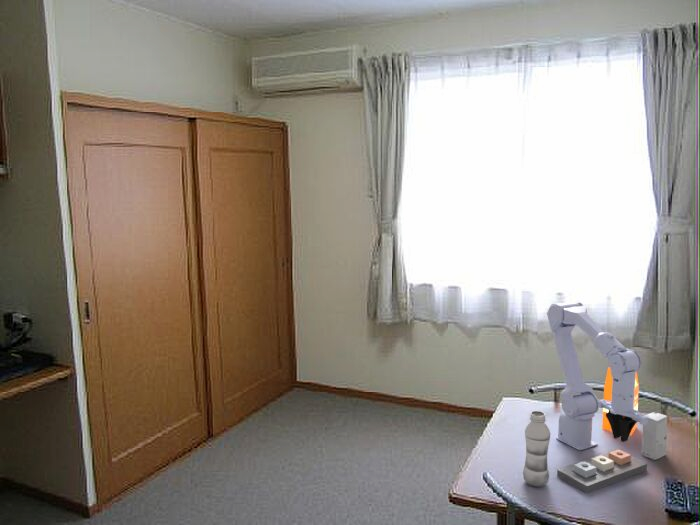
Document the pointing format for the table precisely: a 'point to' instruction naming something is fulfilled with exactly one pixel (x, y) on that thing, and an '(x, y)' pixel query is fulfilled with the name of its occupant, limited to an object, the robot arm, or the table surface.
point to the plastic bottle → (536, 450)
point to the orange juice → (609, 395)
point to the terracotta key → (619, 457)
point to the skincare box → (654, 436)
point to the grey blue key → (584, 469)
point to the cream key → (602, 463)
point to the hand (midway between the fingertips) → (620, 439)
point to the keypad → (601, 474)
